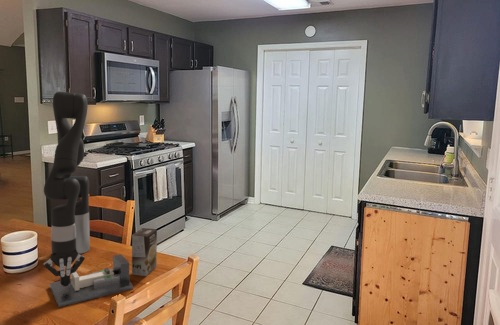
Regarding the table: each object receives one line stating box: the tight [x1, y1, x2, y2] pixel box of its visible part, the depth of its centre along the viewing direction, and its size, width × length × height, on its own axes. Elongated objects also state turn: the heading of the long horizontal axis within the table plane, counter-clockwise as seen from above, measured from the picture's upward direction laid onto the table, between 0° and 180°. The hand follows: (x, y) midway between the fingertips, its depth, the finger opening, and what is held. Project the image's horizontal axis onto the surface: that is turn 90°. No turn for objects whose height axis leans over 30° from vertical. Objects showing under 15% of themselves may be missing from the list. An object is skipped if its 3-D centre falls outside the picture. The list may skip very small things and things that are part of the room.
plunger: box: [70, 267, 114, 291], centre depth 135 cm, size 6×13×5 cm, turn 126°
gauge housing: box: [49, 253, 134, 308], centre depth 135 cm, size 16×24×8 cm, turn 126°
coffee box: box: [131, 227, 158, 277], centre depth 150 cm, size 9×6×16 cm
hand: (65, 285), depth 130 cm, fingers closed
